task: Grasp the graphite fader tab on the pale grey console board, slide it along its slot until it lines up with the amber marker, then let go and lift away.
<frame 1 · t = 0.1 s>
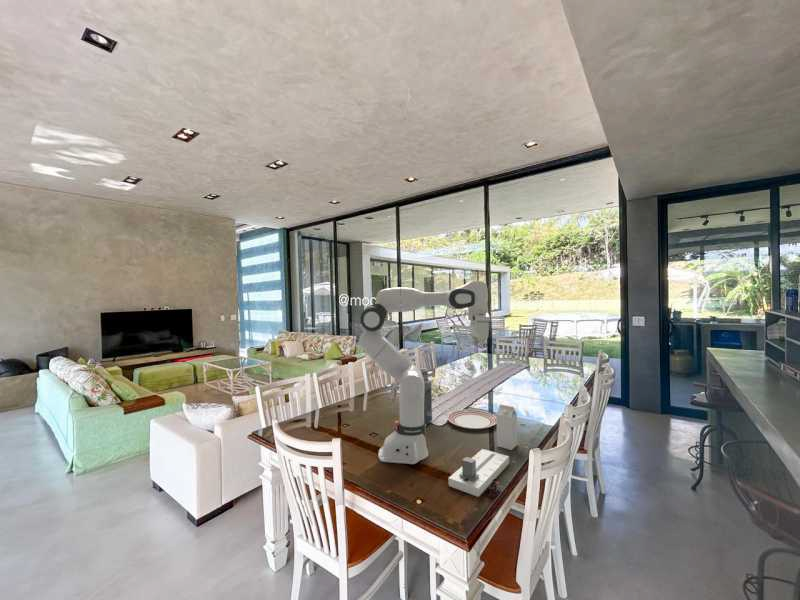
hand: (478, 347, 153), 48 cm above the table, fingers open, 8 cm apart
bottle: (423, 420, 195), on the table
fader tab: (469, 467, 127), point 6 cm above the table, slide at 0.0 cm
console board: (480, 474, 135), on the table
dinner plate: (472, 423, 190), on the table
milk carton: (507, 446, 160), on the table
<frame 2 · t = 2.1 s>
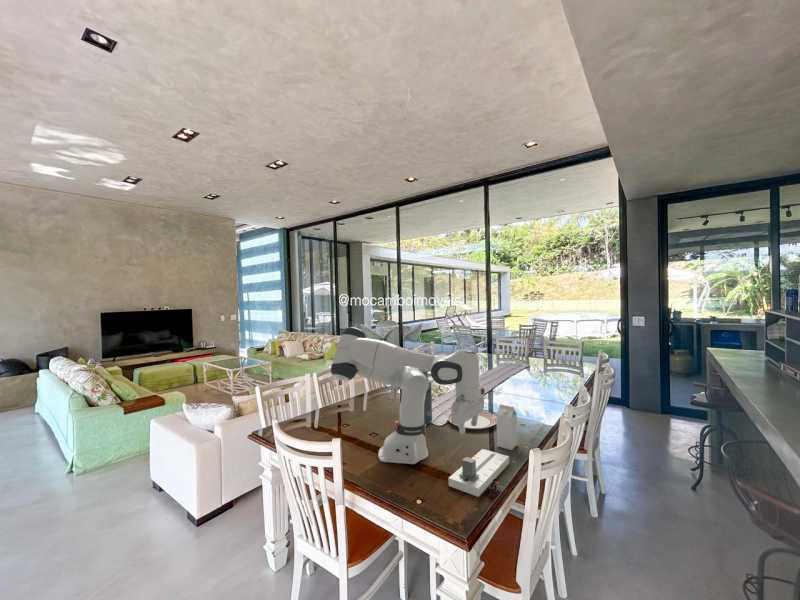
hand: (468, 429, 127), 21 cm above the table, fingers open, 8 cm apart
nothing on the table moved.
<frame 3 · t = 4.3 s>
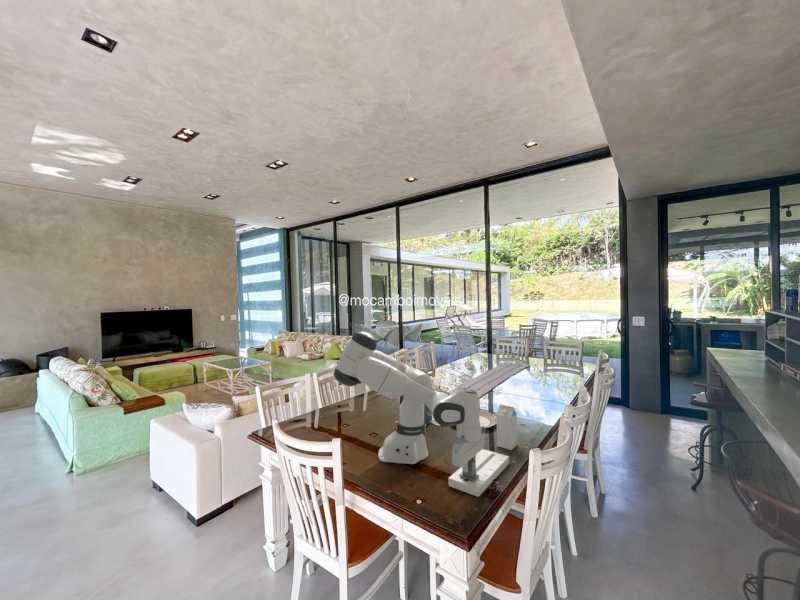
hand: (468, 468, 127), 6 cm above the table, fingers closed on fader tab, 3 cm apart
fader tab: (469, 467, 127), point 6 cm above the table, slide at 0.0 cm, touching gripper
everything else where it was.
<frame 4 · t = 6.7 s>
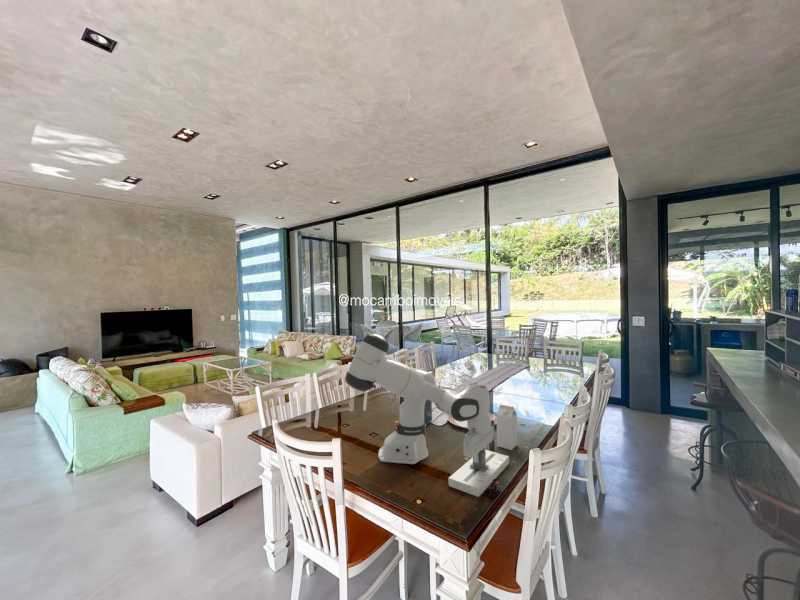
hand: (479, 459, 134), 6 cm above the table, fingers closed on fader tab, 3 cm apart
fader tab: (479, 458, 134), point 6 cm above the table, slide at 8.9 cm, touching gripper
everything else where it was.
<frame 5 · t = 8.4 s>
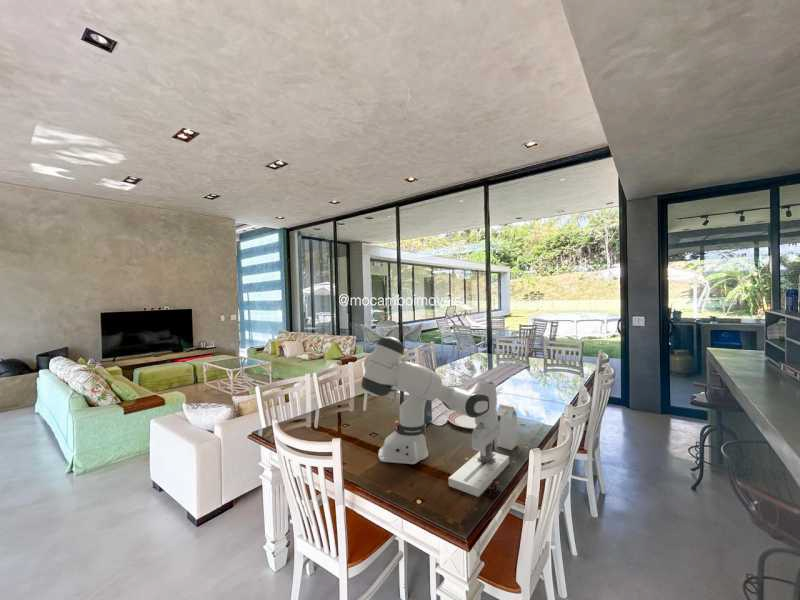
hand: (486, 453, 139), 6 cm above the table, fingers closed on fader tab, 3 cm apart
fader tab: (486, 452, 139), point 6 cm above the table, slide at 15.8 cm, touching gripper
everything else where it was.
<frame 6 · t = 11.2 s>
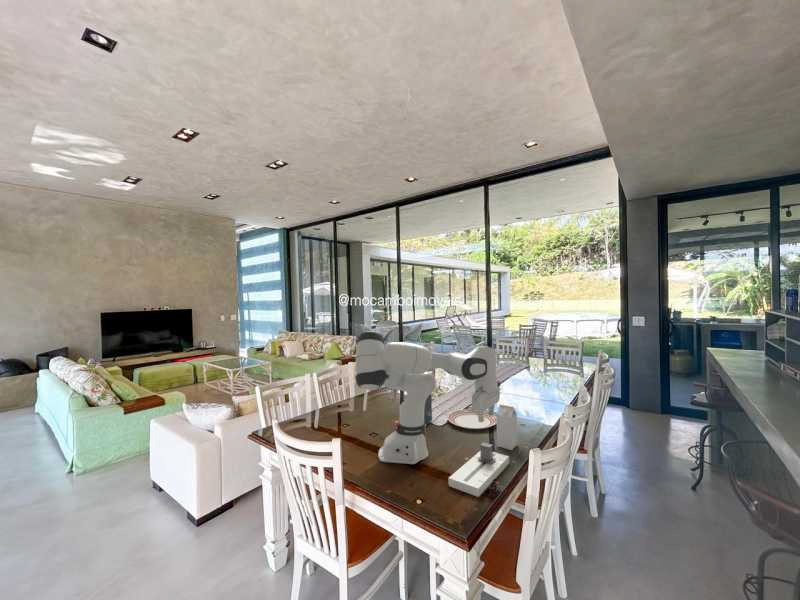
hand: (486, 418, 139), 20 cm above the table, fingers open, 8 cm apart
fader tab: (486, 452, 139), point 6 cm above the table, slide at 15.9 cm
everything else where it was.
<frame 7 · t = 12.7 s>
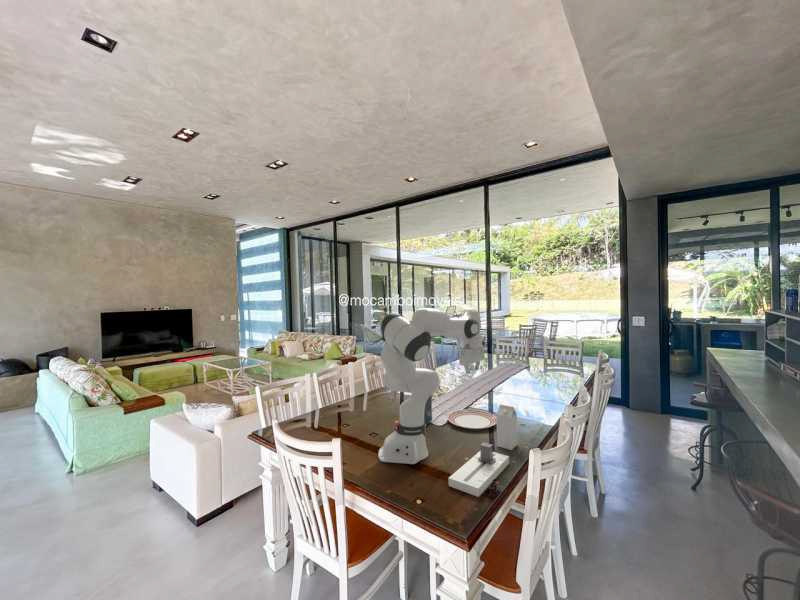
hand: (472, 371, 164), 34 cm above the table, fingers open, 8 cm apart
nothing on the table moved.
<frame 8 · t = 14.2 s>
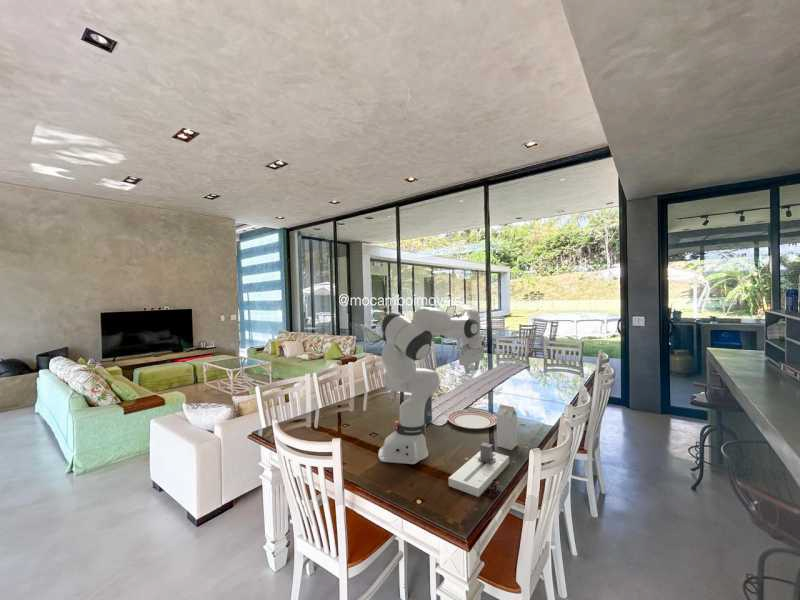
hand: (472, 371, 165), 34 cm above the table, fingers open, 8 cm apart
nothing on the table moved.
at the end: fader tab slide at 15.9 cm; the gripper is holding nothing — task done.
